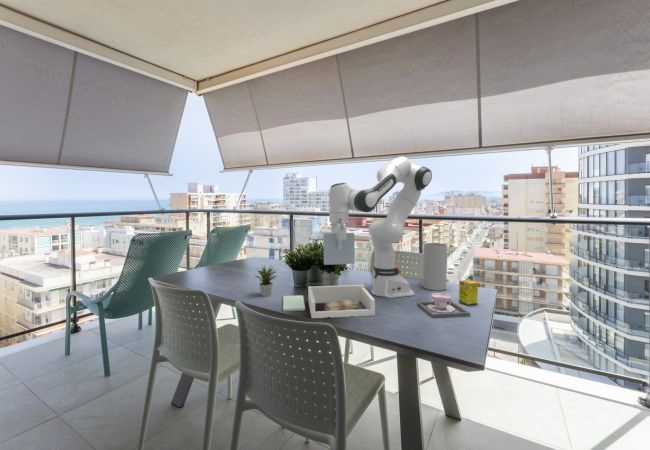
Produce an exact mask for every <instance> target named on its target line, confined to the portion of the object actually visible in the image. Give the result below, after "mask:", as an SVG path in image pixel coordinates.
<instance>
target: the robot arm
mask: <svg viewBox="0 0 650 450" xmlns="http://www.w3.org/2000/svg"><path fill="white" fill-rule="evenodd" d="M432 178H433V173H432V170H431V169H429V168H428V167H426V166H423V165H419V164H415V163H411V161H410V160H409V159H408V158H407V157H406V156H398V157H396V158H393V159H391V160H389V162H387V163H386V164H383V166H381V167H380V169H378V170H377V173H376V179H377V181H378V182H377V183H376V184H375V185H374V186H372V187H370V188H368V189H355V188H352V187H351V186H350V185H348V184H347V183H346V182H340V183H333V184H332V185H331V186H330V189H329V194H328V195H329V196H328V203H329V212H328V213H329V214H328V215H329V217H328V218H329V223H330V225H331V233H335V234H336V239H337V240H338V249H342V243H343V241H346V239H347V234H346V233H347V223H349V221H350V220H349V216H350V215H349V213H350V212H349V211H353V212H354V211H355V212H362V213H370V212H372V211H373V210H375V208H376V207H377V205H378V204H379V202H380V200H382V198H383V197H385V196H386V195H387V194H388V193H389V192H391V190H392V189H393V188H395V186H396V185H397V184H398V183H401V184H403V187H402V189H401V190H399V192H398V193H397V195H396V196H395V198H394V199H393V200H392V202H391V204H390V205H389V206H388V213H387V216H386V218H385V219H384V220H383V219H380V220H374V221H372V222H371V223H370V224H369V226H368V233H369V235H370V238H371V241H372V242H371V243H372V246H373V251H374V257H373V258H374V259H373V260H374V263H373V264H374V266H373V270H372V271H373V272H372V275H373V283H372V288H371V291H370V293H371V295H374V296H378V297H382V298H388V299H393V298H402V297H413V296H414V295H415V291H414V290H412V289H411V287H410V283H409V281H408V280H407V279H406V278H404V277H403V276H402V275H400V274H401V273H402V272H403V271H402V269H401V268H398V267H397V266H396V251H395V249H394V247H393V243H394V244H395V243H399V242H400V241H401V240H402V239H403V237H404V235H405V234H404V233H405V231H404V226H405V223H406V221H407V219H408V217H409V215H411V213H412V211H413V209H415V207H416V205H417V203H418V202H419V199H420V197H421V195H422V191H423V190H425V189H426V188H427V187H428V185H429V184H430V183H431V181H432V180H433V179H432Z"/></svg>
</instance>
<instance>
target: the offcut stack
mask: <svg viewBox="0 0 650 450" xmlns="http://www.w3.org/2000/svg"><path fill="white" fill-rule="evenodd" d="M359 307H360V302H357V301H356V300H345V301H335V302H325V303H324V309H323V311H339V310H359V309H358V308H359Z"/></svg>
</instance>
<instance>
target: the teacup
mask: <svg viewBox="0 0 650 450" xmlns="http://www.w3.org/2000/svg"><path fill="white" fill-rule="evenodd" d="M431 297H432V298H433V301H435V305H427V309H429V310H430V311H431V312H436V313H454V312H455V310H456V308H454V307H453V306H451V305H450V304H451V301H452V299H450V298H451V296H450V295H448V294H446V293H440V292H439V293H432V294H431ZM448 301H450V303H449V304H448V305H447V302H448Z"/></svg>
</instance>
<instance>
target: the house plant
mask: <svg viewBox="0 0 650 450" xmlns="http://www.w3.org/2000/svg"><path fill="white" fill-rule="evenodd" d="M274 268H275V266H272V265H270V266H269V267H268V268H266V265H265V264H264V265H263V266H261V268H260V269H261V270H259V269H258V268H256V271H257V273H258V274H259V275H260V276H261V277H260V276H258V275H255V276H254V278H257V279H259V290H260V295H261V296H262V297H270V296H271V295H272V292H273V284H274V283H273V282H272V280H275V278H278V277H277V276H278V275H277V274H276V273H277V270H278V269H280V267H279V268H275V269H274ZM273 274H276V275H273ZM275 281H276V280H275Z"/></svg>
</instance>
